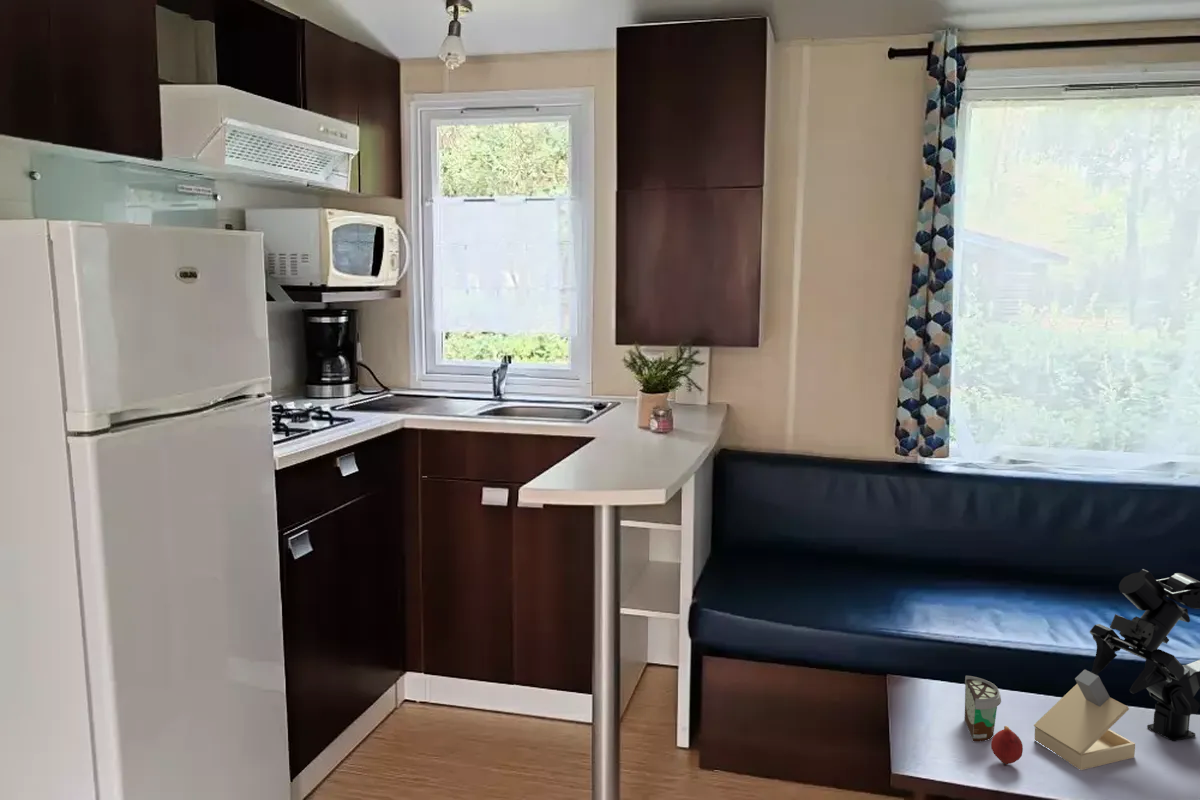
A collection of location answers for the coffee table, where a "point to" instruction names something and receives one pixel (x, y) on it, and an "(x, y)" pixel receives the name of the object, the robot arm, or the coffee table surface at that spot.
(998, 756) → the onion
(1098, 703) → the carton flap
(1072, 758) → the carton
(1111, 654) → the robot arm
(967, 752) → the coffee table surface
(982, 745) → the coffee table surface
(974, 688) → the food container
